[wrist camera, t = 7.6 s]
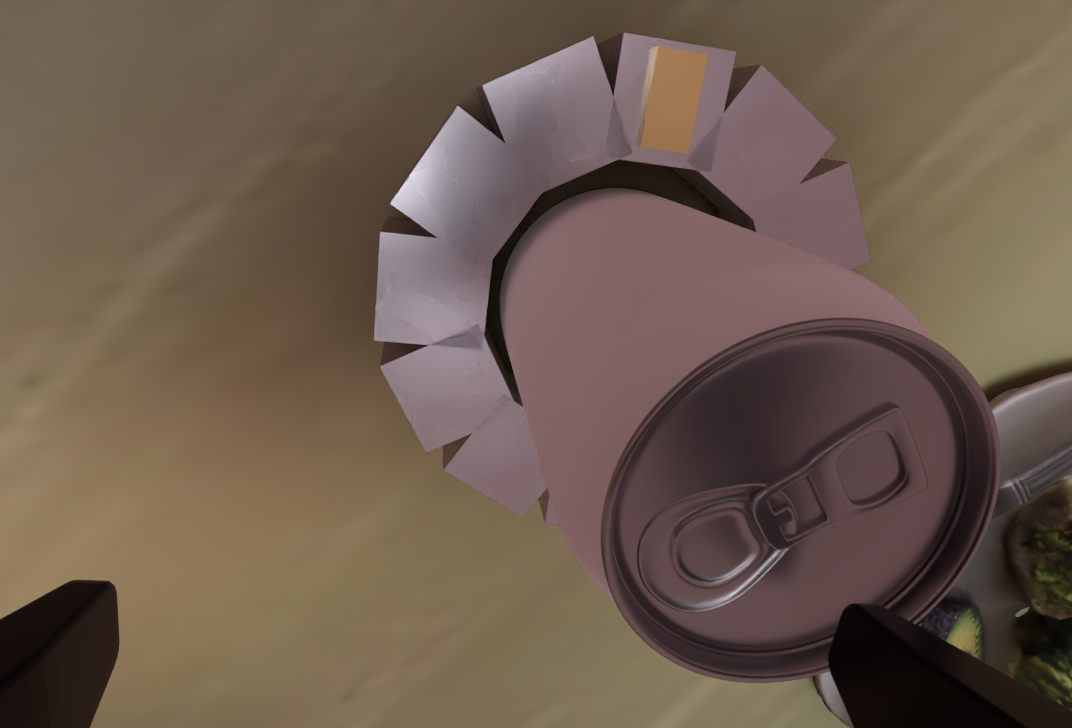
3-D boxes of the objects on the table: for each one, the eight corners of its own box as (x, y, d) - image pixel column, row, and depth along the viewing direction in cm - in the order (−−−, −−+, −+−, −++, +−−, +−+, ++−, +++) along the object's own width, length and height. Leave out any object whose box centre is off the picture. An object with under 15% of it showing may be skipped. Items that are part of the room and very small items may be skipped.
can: (455, 257, 19) (475, 454, 8) (657, 141, 19) (965, 181, 8) (561, 433, 22) (688, 772, 11) (742, 333, 21) (1074, 574, 10)
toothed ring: (760, 492, 23) (800, 540, 21) (371, 472, 21) (362, 522, 19) (870, 87, 19) (938, 83, 17) (400, 10, 17) (393, -9, 14)
